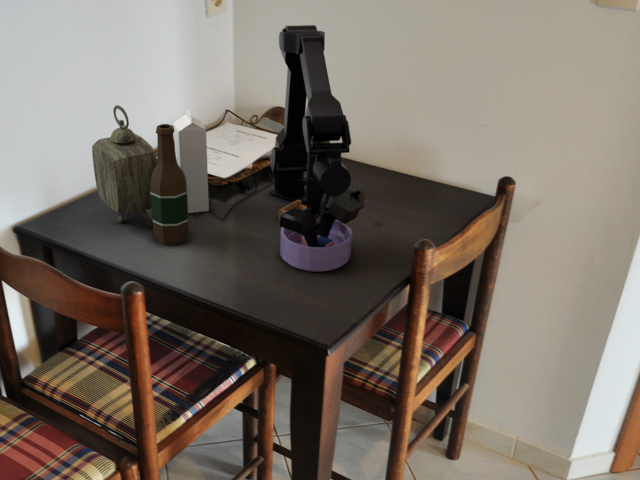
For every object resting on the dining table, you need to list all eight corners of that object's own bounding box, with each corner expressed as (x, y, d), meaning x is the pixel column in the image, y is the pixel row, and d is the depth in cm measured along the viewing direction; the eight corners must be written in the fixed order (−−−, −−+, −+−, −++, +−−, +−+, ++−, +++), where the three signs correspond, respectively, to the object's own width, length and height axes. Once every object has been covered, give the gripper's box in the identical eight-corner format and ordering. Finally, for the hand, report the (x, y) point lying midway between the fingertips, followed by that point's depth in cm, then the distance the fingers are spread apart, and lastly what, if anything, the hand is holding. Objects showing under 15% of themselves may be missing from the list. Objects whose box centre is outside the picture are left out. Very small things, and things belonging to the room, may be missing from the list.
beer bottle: (196, 232, 162) (191, 122, 148) (180, 248, 156) (174, 135, 142) (163, 226, 164) (155, 117, 150) (146, 242, 158) (137, 129, 144)
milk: (183, 214, 170) (176, 117, 157) (178, 203, 174) (171, 108, 162) (209, 211, 171) (205, 114, 158) (203, 200, 176) (199, 105, 163)
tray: (278, 219, 168) (278, 209, 166) (298, 209, 173) (298, 199, 171) (315, 233, 163) (316, 222, 161) (334, 222, 167) (335, 211, 166)
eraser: (300, 250, 155) (301, 236, 153) (309, 245, 157) (310, 231, 155) (324, 259, 152) (325, 245, 150) (333, 253, 154) (334, 240, 152)
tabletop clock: (162, 227, 164) (154, 113, 149) (123, 237, 160) (111, 120, 145) (135, 203, 174) (124, 94, 159) (97, 212, 169) (83, 100, 155)
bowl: (266, 258, 153) (266, 233, 150) (307, 233, 162) (308, 210, 159) (323, 280, 146) (324, 255, 143) (363, 254, 155) (365, 230, 152)
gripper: (327, 201, 135) (322, 277, 144) (383, 171, 147) (375, 243, 156) (278, 185, 141) (276, 259, 149) (336, 157, 153) (331, 227, 161)
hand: (317, 247), depth 154 cm, fingers closed on eraser, 3 cm apart
